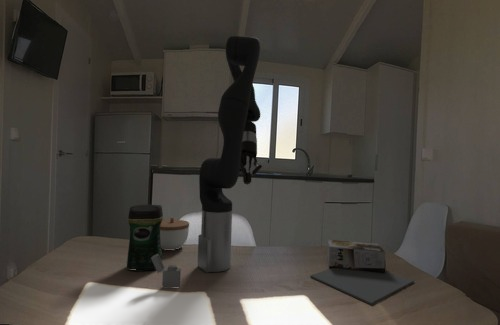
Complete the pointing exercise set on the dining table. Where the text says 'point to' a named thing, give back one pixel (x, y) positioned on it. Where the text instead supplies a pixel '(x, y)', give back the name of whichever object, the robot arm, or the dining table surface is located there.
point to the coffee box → (356, 256)
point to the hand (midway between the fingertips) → (247, 183)
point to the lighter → (167, 272)
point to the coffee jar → (144, 236)
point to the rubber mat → (363, 283)
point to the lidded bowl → (173, 233)
